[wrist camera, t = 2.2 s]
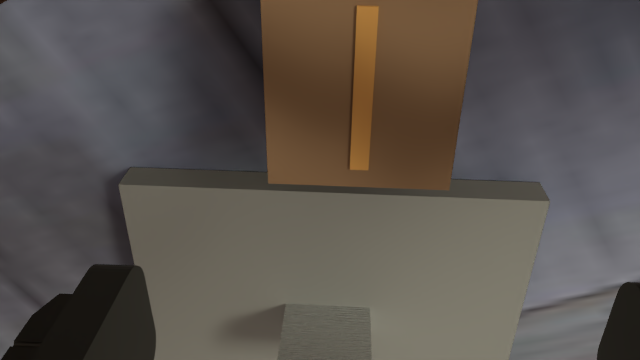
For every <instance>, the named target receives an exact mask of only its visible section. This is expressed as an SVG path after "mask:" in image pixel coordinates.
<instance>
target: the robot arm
mask: <svg viewBox="0 0 640 360" xmlns="http://www.w3.org/2000/svg"><path fill="white" fill-rule="evenodd" d="M155 350H156V330H155V325H154V320H153V315H152V310H151V305H150V300H149V295H148V290H147V285H146V280H145V276H144V272H143V270H142V268H141V267H140V266H137V265H105V264H95V265H93V266H91V267H90V268H89V270H88V271H87V273H86V274H85V276H84V277H83V279H82V280H81V282H80V284H79V285H78V287H77V288H76V290H75V291H74V293H73V294H59V295H57V296H56V297H55V298H53V299H52V300H51V301H50V302H48V303H47V304H46V305H45V306H43V307H42V308H41V309H39V310H38V311H37V312H36V313H34V314H33V315H32V316H31V317H30V319H29V320H28V322H27V323H26V325H25V326H24V328H23V329H22V330H21V332H20V333H19V335H18V336H17V338H16V339H15V340H14V345H13V347H10V348H9V349H8V350H7V352H6V353H5V355H4V356H3V358H2V359H1V360H154V356H155ZM597 360H640V283H638V282H627V283H624V284H623V285H622V286H621V287H620V289H619V291H618V293H617V296H616V299H615V302H614V304H613V307H612V310H611V313H610V316H609V319H608V322H607V325H606V328H605V330H604V333H603V336H602V339H601V342H600V345H599V348H598V354H597Z"/></svg>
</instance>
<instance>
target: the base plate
mask: <svg viewBox="0 0 640 360" xmlns="http://www.w3.org/2000/svg"><path fill="white" fill-rule="evenodd" d="M118 186H119V191H120V196H121V200H122V205H123V210H124V215H125V220H126V225H127V230H128V235H129V240H130V245H131V250H132V255H133V260H134V265H137V266H140V267H141V268H142V270H143V272H144V276H145V280H146V285H147V290H148V295H149V300H150V305H151V310H152V315H153V320H154V325H155V330H156V350H155V356H154V360H277V358H278V352H279V345H280V339H281V332H282V326H283V319H284V313H285V306H286V304H305V305H327V306H348V307H369V308H370V318H371V350H372V360H508V359H509V356H510V352H511V348H512V344H513V340H514V337H515V333H516V329H517V325H518V321H519V318H520V314H521V310H522V306H523V302H524V298H525V295H526V291H527V287H528V283H529V279H530V276H531V272H532V268H533V264H534V260H535V257H536V253H537V249H538V245H539V241H540V238H541V234H542V230H543V226H544V222H545V219H546V215H547V211H548V207H549V203H550V200H549V199H548V197H547V195H546V193H545V191H544V189H543V188H542V186H541V184H540V183H538V182H511V181H485V180H458V179H451V182H450V189H449V190H426V189H400V188H374V187H348V186H322V185H295V184H269V183H268V172H245V171H218V170H191V169H165V168H138V167H130V169H129V170H128V172H127V173H126V174H125V176H124V177H123V179H122V180H121V181H120V183H119V184H118Z"/></svg>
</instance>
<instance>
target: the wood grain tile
mask: <svg viewBox="0 0 640 360" xmlns="http://www.w3.org/2000/svg"><path fill="white" fill-rule="evenodd" d="M277 360H372V350H371V318H370V308H369V307H348V306H327V305H305V304H286V306H285V313H284V319H283V326H282V332H281V339H280V345H279V352H278V358H277Z"/></svg>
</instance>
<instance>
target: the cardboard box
mask: <svg viewBox="0 0 640 360" xmlns="http://www.w3.org/2000/svg"><path fill="white" fill-rule="evenodd" d="M260 3H261V27H262V51H263V74H264V98H265V122H266V146H267V170H268V183H269V184H295V185H322V186H348V187H374V188H400V189H426V190H449V189H450V182H451V175H452V169H453V162H454V156H455V149H456V142H457V136H458V129H459V123H460V116H461V109H462V103H463V96H464V90H465V83H466V76H467V70H468V63H469V57H470V50H471V44H472V37H473V30H474V24H475V17H476V11H477V4H478V0H260Z"/></svg>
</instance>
